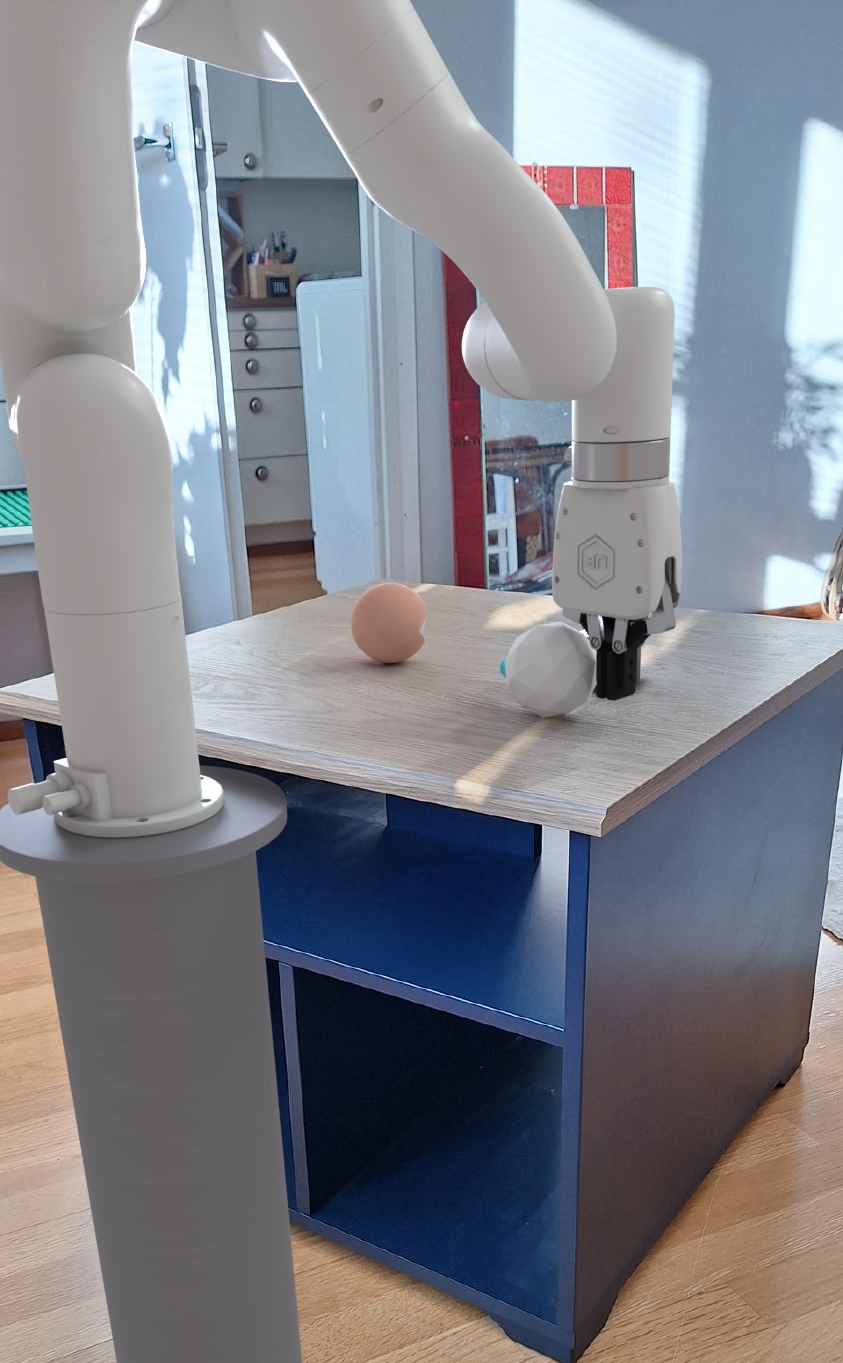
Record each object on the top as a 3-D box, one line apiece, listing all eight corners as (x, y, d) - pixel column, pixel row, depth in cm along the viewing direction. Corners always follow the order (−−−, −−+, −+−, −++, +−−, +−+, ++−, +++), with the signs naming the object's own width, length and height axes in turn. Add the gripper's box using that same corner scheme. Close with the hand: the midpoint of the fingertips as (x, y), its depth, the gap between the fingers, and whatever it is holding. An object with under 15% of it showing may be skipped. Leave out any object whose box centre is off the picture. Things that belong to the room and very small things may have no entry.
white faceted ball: (525, 692, 104) (449, 682, 114) (594, 737, 109) (515, 723, 119) (566, 605, 104) (486, 603, 114) (633, 653, 109) (551, 647, 119)
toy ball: (445, 659, 132) (443, 581, 128) (394, 675, 126) (390, 593, 123) (388, 650, 137) (384, 574, 133) (336, 664, 131) (331, 585, 128)
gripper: (516, 465, 102) (518, 691, 110) (670, 473, 92) (661, 721, 100) (577, 456, 107) (575, 674, 115) (730, 463, 97) (717, 701, 105)
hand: (615, 695), depth 107 cm, fingers closed
